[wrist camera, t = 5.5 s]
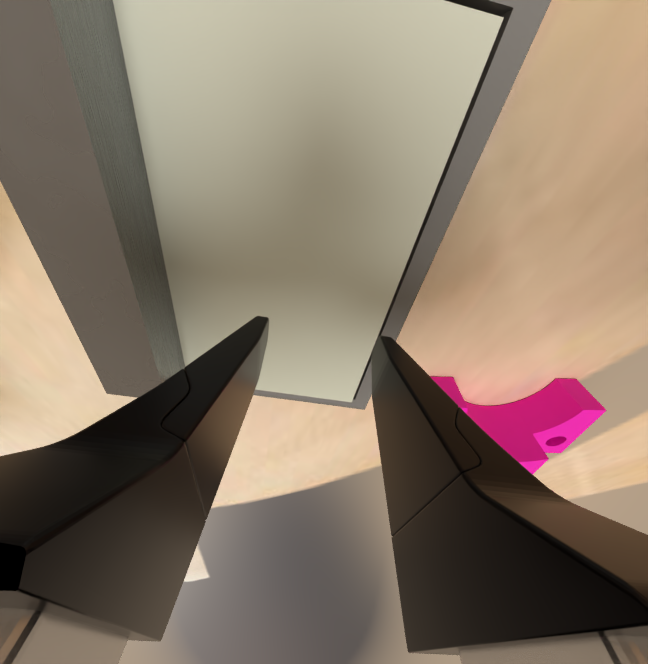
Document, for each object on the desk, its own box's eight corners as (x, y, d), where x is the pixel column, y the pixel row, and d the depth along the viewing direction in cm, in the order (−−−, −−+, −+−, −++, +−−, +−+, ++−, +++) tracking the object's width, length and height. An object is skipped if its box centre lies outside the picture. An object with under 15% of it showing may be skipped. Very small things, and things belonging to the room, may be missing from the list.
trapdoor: (493, 23, 8) (562, -20, 6) (351, 395, 19) (353, 434, 17) (-24, -124, 7) (-221, -262, 4) (142, 367, 18) (112, 405, 15)
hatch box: (472, 28, 13) (568, -37, 7) (357, 352, 25) (364, 409, 20) (163, -59, 11) (25, -210, 6) (207, 329, 24) (173, 384, 19)
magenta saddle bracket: (426, 474, 27) (447, 432, 22) (411, 419, 32) (426, 376, 27) (577, 477, 26) (631, 436, 22) (539, 422, 31) (576, 378, 27)
